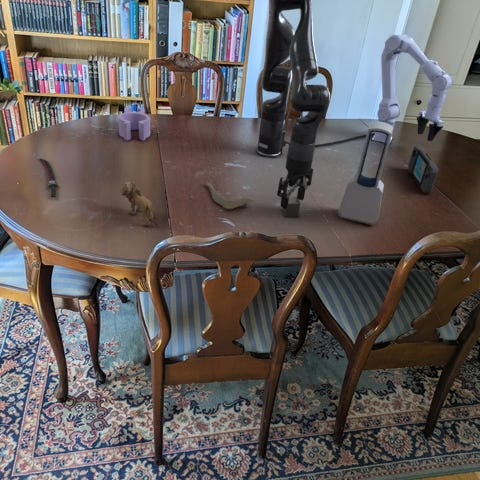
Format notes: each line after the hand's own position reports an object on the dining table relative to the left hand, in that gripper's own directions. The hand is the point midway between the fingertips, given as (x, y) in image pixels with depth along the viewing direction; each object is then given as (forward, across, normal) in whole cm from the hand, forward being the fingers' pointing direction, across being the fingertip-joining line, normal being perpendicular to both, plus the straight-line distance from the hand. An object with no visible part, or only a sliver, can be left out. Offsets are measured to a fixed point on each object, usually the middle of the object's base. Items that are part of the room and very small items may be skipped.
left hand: (291, 203), depth 144 cm
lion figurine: (+3, +37, -27) cm, 46 cm away
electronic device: (+4, -14, +16) cm, 22 cm away
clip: (+4, -3, -83) cm, 83 cm away
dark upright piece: (+4, -66, -48) cm, 81 cm away
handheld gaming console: (+4, -59, +17) cm, 61 cm away
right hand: (-4, -88, +5) cm, 88 cm away
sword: (+4, +45, -65) cm, 79 cm away
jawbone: (+4, +8, -20) cm, 21 cm away
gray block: (+4, 0, 0) cm, 4 cm away
